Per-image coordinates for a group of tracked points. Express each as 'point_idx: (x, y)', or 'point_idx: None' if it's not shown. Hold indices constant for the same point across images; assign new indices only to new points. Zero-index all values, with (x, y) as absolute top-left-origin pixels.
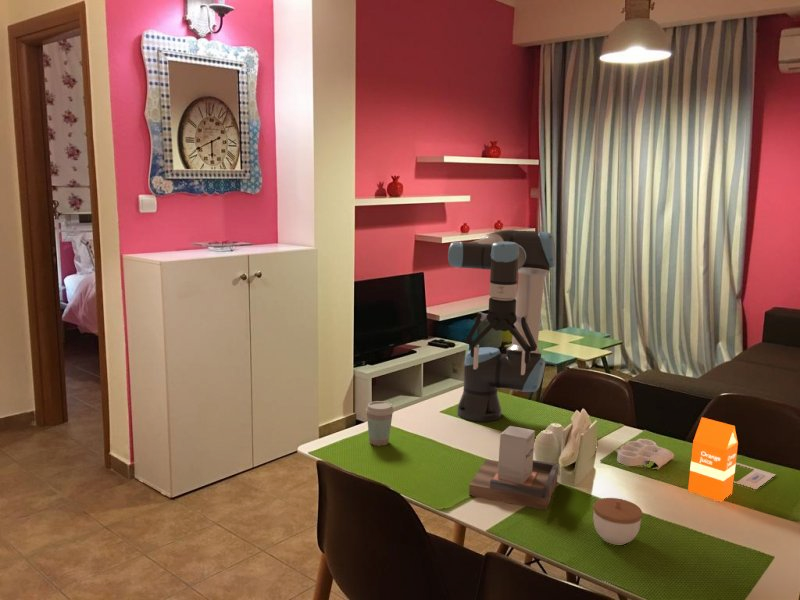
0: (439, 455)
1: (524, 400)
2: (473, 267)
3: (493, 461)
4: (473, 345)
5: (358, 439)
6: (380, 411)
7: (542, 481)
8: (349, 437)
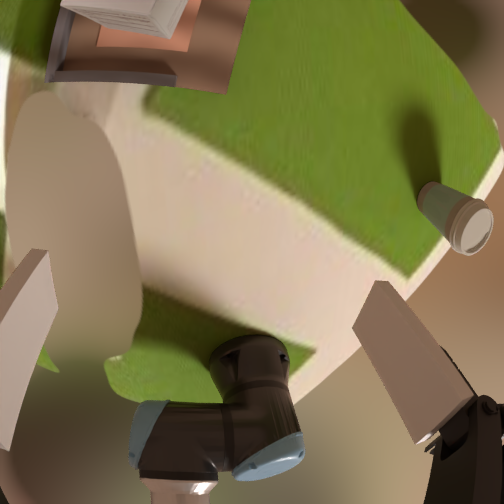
0: (331, 151)
1: None
2: None
3: (205, 83)
4: (482, 405)
5: None
6: (479, 205)
7: None
8: None
